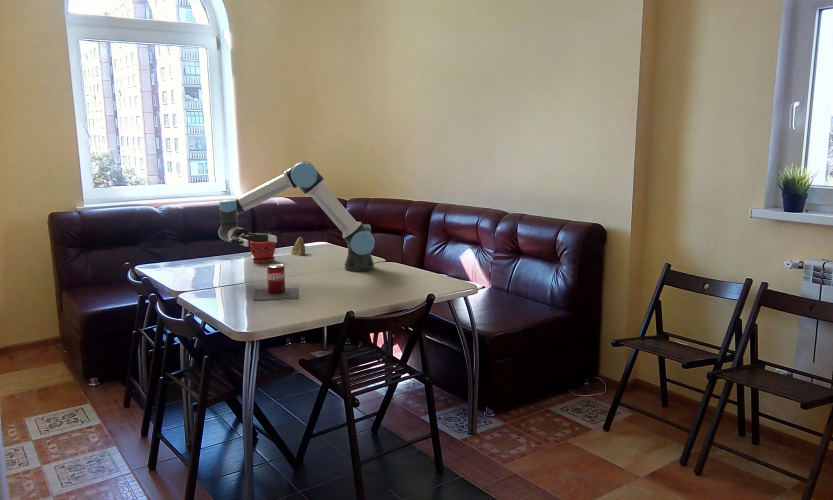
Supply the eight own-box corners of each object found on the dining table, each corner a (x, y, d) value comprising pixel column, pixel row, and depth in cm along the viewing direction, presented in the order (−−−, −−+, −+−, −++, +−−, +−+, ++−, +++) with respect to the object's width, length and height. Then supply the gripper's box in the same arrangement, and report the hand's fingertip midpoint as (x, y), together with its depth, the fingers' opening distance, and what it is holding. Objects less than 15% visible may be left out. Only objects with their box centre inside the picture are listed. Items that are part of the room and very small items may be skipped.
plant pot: (264, 258, 340) (263, 237, 338) (280, 261, 332) (280, 239, 330) (245, 262, 329) (244, 240, 327) (261, 265, 322) (260, 242, 320)
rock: (309, 251, 348) (310, 246, 358) (300, 240, 346) (300, 235, 355) (294, 262, 349) (295, 257, 359) (284, 251, 346) (285, 246, 356)
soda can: (269, 291, 265) (268, 263, 263) (286, 291, 266) (285, 263, 264) (266, 295, 258) (265, 267, 256) (284, 295, 259) (283, 267, 257)
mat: (297, 288, 273) (297, 287, 273) (298, 299, 255) (298, 297, 255) (255, 290, 269) (255, 289, 269) (254, 300, 252) (253, 299, 252)
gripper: (264, 240, 290) (287, 246, 274) (214, 247, 273) (235, 253, 258) (263, 224, 288) (286, 229, 273) (212, 230, 272) (234, 236, 256)
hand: (262, 241), depth 265 cm, fingers open, 13 cm apart
